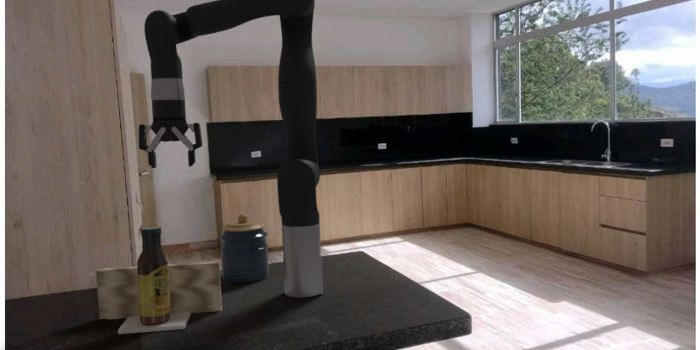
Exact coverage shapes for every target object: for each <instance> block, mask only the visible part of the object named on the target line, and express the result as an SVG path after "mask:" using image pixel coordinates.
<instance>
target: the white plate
mask: <svg viewBox="0 0 700 350" xmlns="http://www.w3.org/2000/svg"><path fill="white" fill-rule="evenodd" d="M190 317H191V313H190V312H186V313H173V314H170V317H169V319H168V320H167V321H165V322H163V323H159V324H154V325H146V324H142V323H141V321H140V316H133V317H128V318H125V320H124V322H123V323H122V324H121V325H120V327H119V328H118V330H117V334H118V335H123V334H124V335H125V334H127V335H128V334H137V333H138V334H139V333H149V332H162V331H175V330H176V331H177V330H185V328H186V326H187V324H188V322H189V319H190Z"/></svg>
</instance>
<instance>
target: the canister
mask: <svg viewBox="0 0 700 350" xmlns="http://www.w3.org/2000/svg"><path fill="white" fill-rule="evenodd" d="M264 227H265V224H263V223H261V222H260V221H259V220H255V219H248V215H247V214H246V213H241V214H239V215H238V217H237V220H233V221H229V222H227V223H226V224H225V225H223V226H222V229H221V230H222V231H223V233H221V234H220V236H219V239H220V240H221V247H220V259H221V269H220V276H221V277H222V280H223V281H225V282H226V283H227V282H228V283H232V284H233V283H234V284H246V283H253V282H258V281H261V280H265V279H266V278H267V277H269V272H270V266H269V251H268V249H269V248H268V247H269V244H268V243H267V239H266V237H267V236H268V232H266V231H265V230H264V229H263V228H264Z"/></svg>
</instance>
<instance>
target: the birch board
mask: <svg viewBox="0 0 700 350" xmlns="http://www.w3.org/2000/svg"><path fill="white" fill-rule="evenodd" d="M168 268H169V289H170V314H173V313H186V312H190V314H196V313H197V314H199V313H209V312H222V310H223V303H222V285H221V269H220V268H221V266H220V261H219V260H217V261H215V260H214V261H204V262H203V261H202V262H200V261H199V262H188V263H187V262H186V263H185V262H184V263H171V264H170V263H168ZM95 273H96V277H95V278H96V287H97V301H98V304H97V305H98V317H99V320H100V319H107V320H118V319H119V320H120V319H127V318H128V317H133V316H140V315H139V304H138V282H137V273H138V269H137V265H136V266H122V267H121V266H120V267H108V268H107V267H105V268H98V269H96V270H95Z"/></svg>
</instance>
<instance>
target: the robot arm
mask: <svg viewBox="0 0 700 350" xmlns="http://www.w3.org/2000/svg"><path fill="white" fill-rule="evenodd" d="M315 1H316V0H212V1H207V2H202V3H198V4H195V5H191V6H189V7H188V8H187V9H186V11H184V12H183V11H182V12H179V13H176V14H170V13H168V12H167V11H165V10H159V9H157V10H153V11H151V12H149V14H148V15H147V16H146V18H145V21H144V28H143V29H144V30H143V31H144V37H145V42H146V46H147V51H148V54H149V55H148V56H149V58H150V78H151V80H150V81H151V84H150V100H151V108H152V109H151V112H152V124H144V123H143V124H139V125H138V148H139V150H142V151H145V152H146V153H147V161H148V165H149V166H150V167H151V168H152V169H157V155H156V154H157V153H156V152H155V150H156V149H157V147H158V146H159V145H160V143H161V142H164V143H167V142H168V143H169V142H181V143H182V144H183V145H184V146H185V147H186V148H187V149H188V151H187V161H188V167H193V166H194V164H195V163H196V150H197V149H200V148H202V147H203V139H202V130H201V124H200V122H194V123H188V122H187V117H186V115H187V114H186V113H187V112H186V97H185V93H186V92H185V86H184V81H183V78H184V77H183V65H182V64H183V63H182V59H181V57H180V55H179V54H178V50H177V49H178V48H177V45H179V44H182V43H185V42H188V41H190V40H192V39H193V40H194V39H196V38H198V37H201V36H202V37H204V36H207V35H214V34H216V33H222V32H224V31H225V32H226V31H228V30H231V29H233V28H236V27H239V26H241V25H244V24H246V23H249V22H251V21H253V20H257V19H261V18H266V17H272V16H273V17H275V16H279V20H280V21H279V23H280V31H281V50H280V55H279V56H280V58H279V64H278V76H277V80H278V81H277V83H278V84H277V85H278V86H277V87H278V105H279V110H280V115H281V116H280V117H281V120H282V124H283V126H284V131H285V137H286V159H285V162H284V163H283V164H281V166H280V167H279V168H278V172H277V177H276V179H277V181H276V183H277V184H276V185H277V188H276V189H277V201H278V211H279V215H280V219H281V231H282V232H281V234H282V235H281V237H282V255H283V256H282V258H283V280H284V281H283V284H284V285H283V286H284V295H286V296H287V297H289V298H290V297H292V298H310V297H315V296H318V295H323V294H324V283H323V257H322V254H321V253H322V251H321V224H320V222H321V221H320V212H319V208H318V202H317V200H318V199H317V187H318V184H319V181H320V178H321V177H320V176H321V173H320V165H319V157H318V149H317V138H316V136H317V135H316V133H317V131H316V129H317V114H318V113H317V112H318V110H317V109H318V108H317V107H318V105H317V104H318V93H317V92H318V89H317V84H318V83H317V81H318V80H317V70H316V62H315V55H314V51H313V50H314V49H313V25H314V24H313V23H314V14H315V13H314V11H315V3H316V2H315ZM189 129H190V131H191V132H192V133H193V134H194V140H195V141H194V142H195V143H194V144H193V143H192V142H191V141H190V139H189V137H188V136H187V135H186V133H187V132H188V130H189ZM150 131H152V132H153V134H155V135H154V138H153V139H152V140H151V142H150V144H149V145H147V136H148V134H149V133H150Z"/></svg>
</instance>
